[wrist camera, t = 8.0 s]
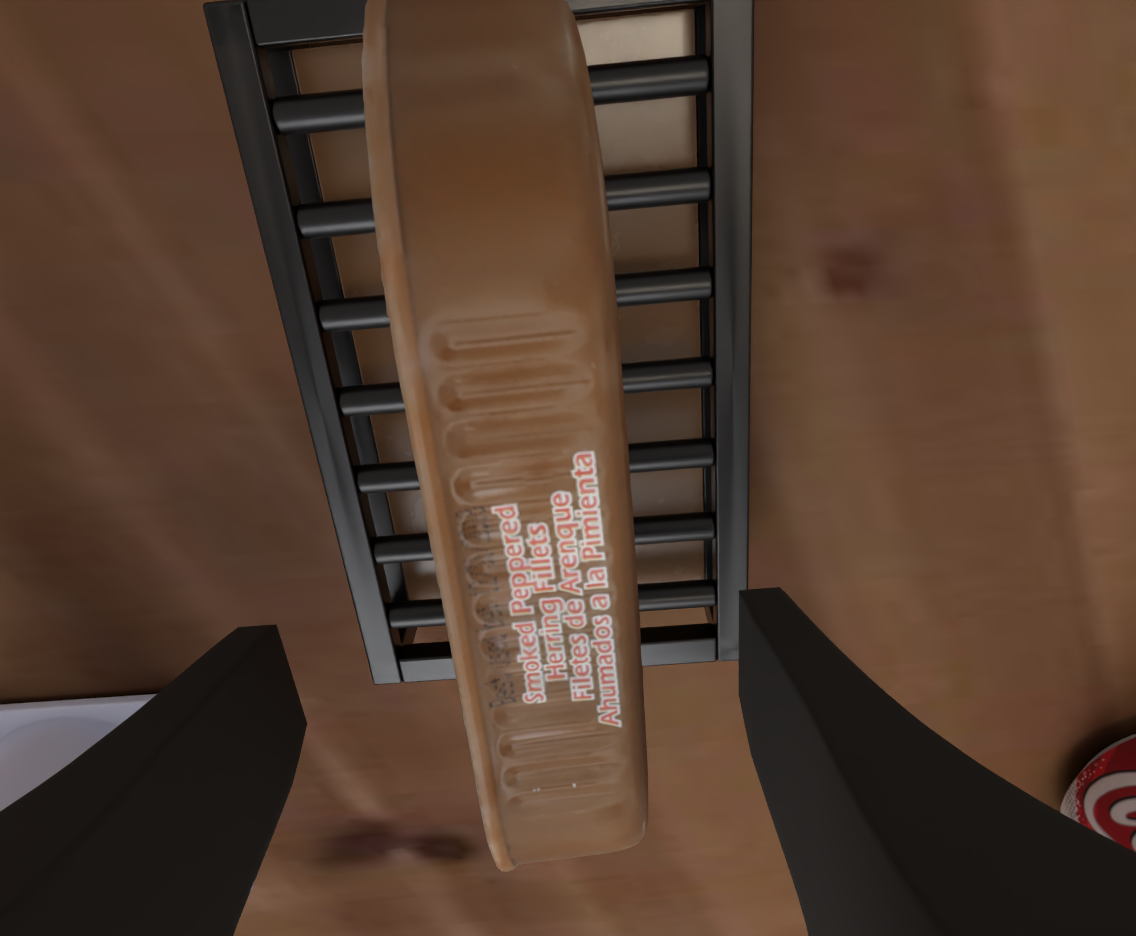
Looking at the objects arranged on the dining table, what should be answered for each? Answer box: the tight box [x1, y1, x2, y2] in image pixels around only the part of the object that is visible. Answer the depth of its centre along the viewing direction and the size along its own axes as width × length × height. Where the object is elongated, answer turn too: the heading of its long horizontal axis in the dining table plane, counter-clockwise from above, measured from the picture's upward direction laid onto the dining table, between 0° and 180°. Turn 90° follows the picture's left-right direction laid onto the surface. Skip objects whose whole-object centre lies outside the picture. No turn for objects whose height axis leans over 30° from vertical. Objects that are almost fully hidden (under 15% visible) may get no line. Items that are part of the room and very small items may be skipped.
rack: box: [203, 0, 754, 685], centre depth 20 cm, size 16×10×4 cm, turn 6°
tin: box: [361, 0, 648, 872], centre depth 14 cm, size 15×3×8 cm, turn 5°
